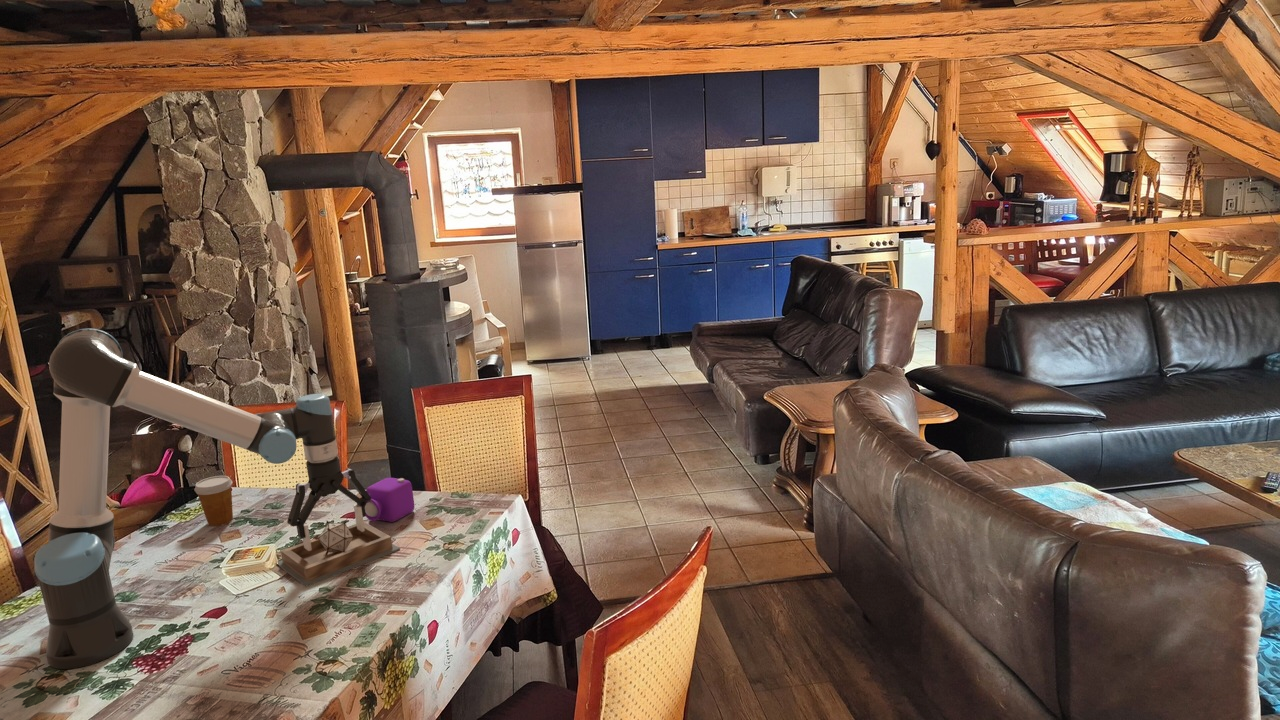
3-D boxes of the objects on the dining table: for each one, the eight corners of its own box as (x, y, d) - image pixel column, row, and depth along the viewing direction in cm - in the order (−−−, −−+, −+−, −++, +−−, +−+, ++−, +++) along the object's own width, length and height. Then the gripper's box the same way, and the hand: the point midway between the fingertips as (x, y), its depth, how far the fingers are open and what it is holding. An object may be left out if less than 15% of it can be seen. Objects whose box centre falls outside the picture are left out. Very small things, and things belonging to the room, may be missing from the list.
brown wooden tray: (308, 582, 197) (305, 569, 196) (283, 563, 208) (280, 550, 207) (392, 549, 211) (390, 536, 210) (365, 533, 222) (363, 521, 221)
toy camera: (357, 527, 227) (351, 492, 224) (386, 506, 239) (381, 473, 237) (392, 529, 223) (387, 494, 221) (419, 508, 236) (414, 475, 234)
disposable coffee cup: (202, 519, 239) (194, 479, 236) (239, 511, 242) (231, 472, 240) (201, 531, 230) (192, 490, 227) (239, 523, 234) (231, 483, 231)
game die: (348, 563, 212) (368, 528, 212) (330, 567, 203) (352, 531, 204) (320, 544, 213) (340, 509, 214) (302, 547, 205) (323, 511, 205)
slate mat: (305, 586, 195) (305, 585, 195) (275, 563, 208) (275, 562, 208) (400, 549, 211) (399, 548, 211) (366, 530, 224) (366, 529, 224)
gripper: (276, 476, 192) (290, 562, 197) (377, 446, 209) (388, 526, 214) (263, 469, 198) (278, 552, 203) (363, 441, 214) (374, 518, 219)
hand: (335, 539), depth 208 cm, fingers open, 13 cm apart
